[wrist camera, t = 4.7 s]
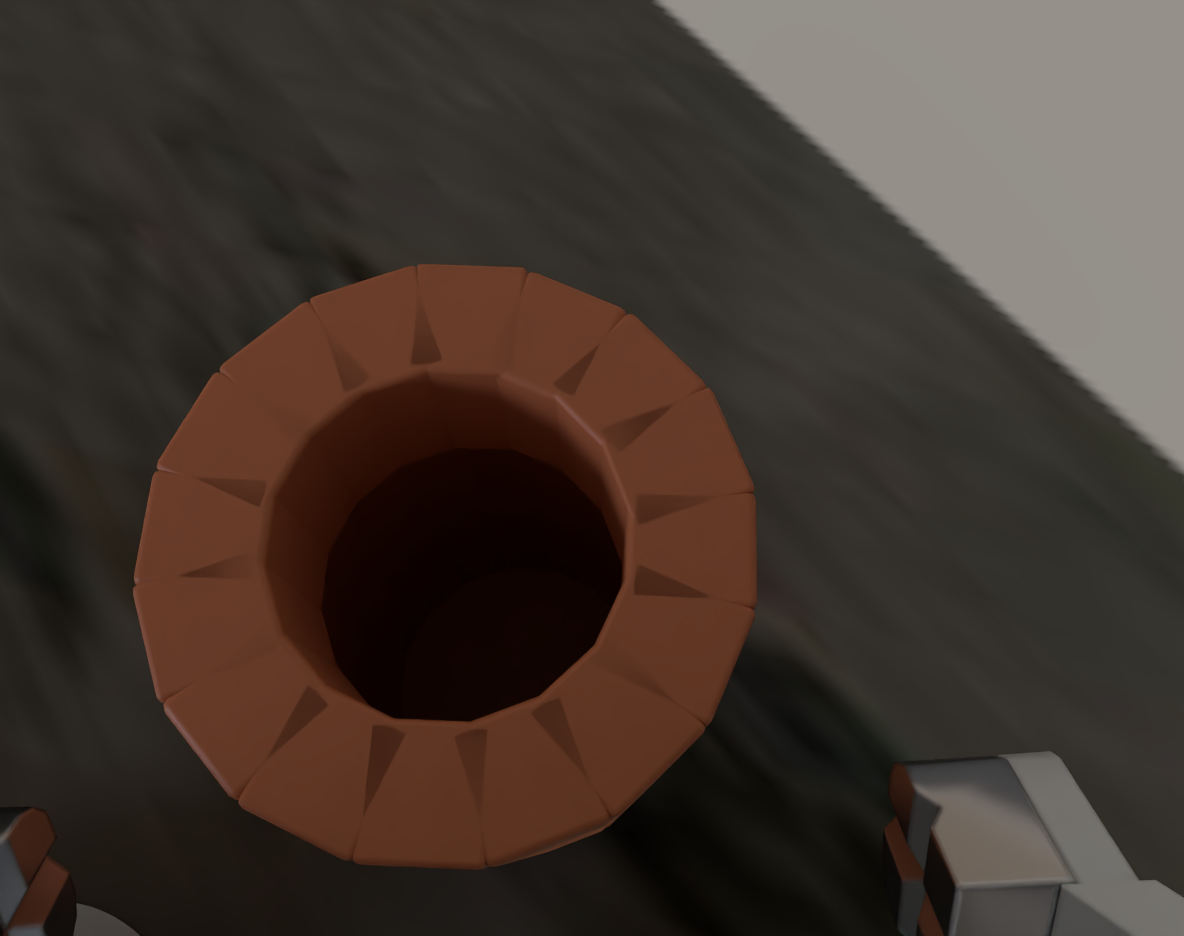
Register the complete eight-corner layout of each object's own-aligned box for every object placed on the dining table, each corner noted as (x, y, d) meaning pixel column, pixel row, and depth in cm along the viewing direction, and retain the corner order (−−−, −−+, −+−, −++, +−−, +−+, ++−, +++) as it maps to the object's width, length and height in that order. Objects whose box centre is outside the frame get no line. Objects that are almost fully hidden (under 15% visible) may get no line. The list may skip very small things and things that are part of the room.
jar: (722, 618, 19) (846, 396, 9) (598, 907, 17) (598, 993, 8) (460, 501, 19) (329, 183, 10) (319, 767, 18) (8, 689, 8)
